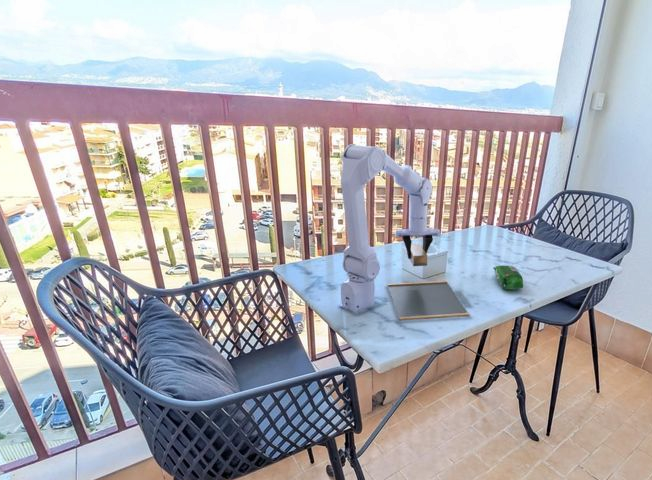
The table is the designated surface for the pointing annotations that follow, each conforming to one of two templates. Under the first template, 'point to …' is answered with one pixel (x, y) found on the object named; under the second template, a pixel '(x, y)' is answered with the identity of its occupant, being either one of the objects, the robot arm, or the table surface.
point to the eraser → (418, 255)
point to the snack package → (508, 277)
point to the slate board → (425, 300)
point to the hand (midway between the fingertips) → (416, 257)
